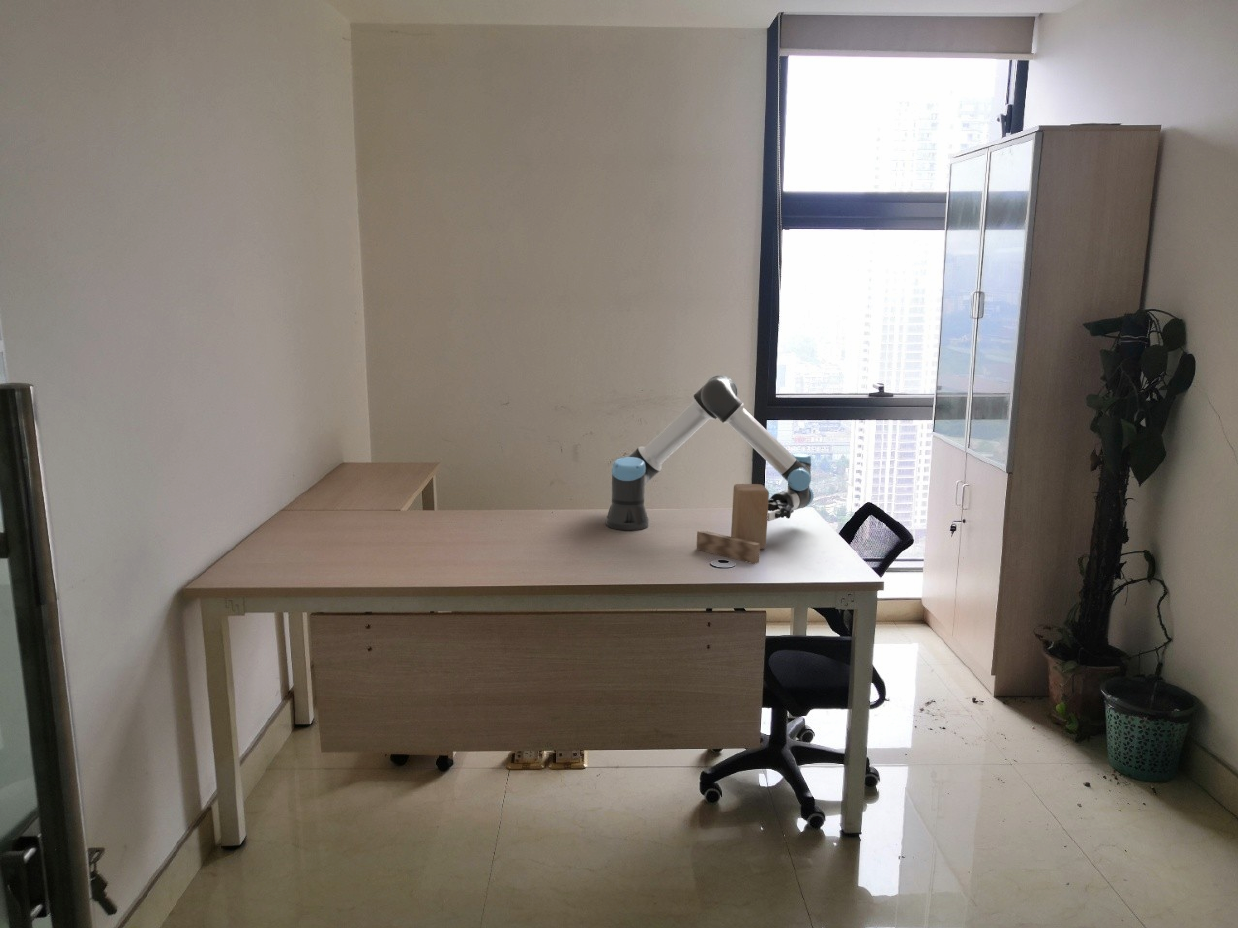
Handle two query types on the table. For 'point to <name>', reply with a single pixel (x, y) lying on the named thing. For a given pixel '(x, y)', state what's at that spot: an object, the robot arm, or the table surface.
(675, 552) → the table surface
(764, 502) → the block
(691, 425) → the robot arm
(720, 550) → the board
